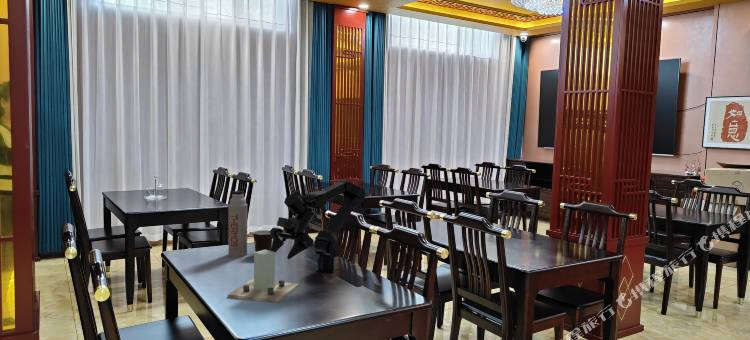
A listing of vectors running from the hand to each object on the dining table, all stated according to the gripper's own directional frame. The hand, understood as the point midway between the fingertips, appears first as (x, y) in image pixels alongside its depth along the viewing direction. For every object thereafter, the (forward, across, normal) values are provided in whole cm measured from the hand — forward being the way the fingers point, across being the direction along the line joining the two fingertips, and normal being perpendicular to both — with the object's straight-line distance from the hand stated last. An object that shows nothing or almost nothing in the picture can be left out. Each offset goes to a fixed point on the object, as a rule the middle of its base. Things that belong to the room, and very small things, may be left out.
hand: (279, 256), depth 190 cm
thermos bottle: (-4, -46, +18) cm, 50 cm away
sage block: (+13, +2, +1) cm, 13 cm away
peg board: (+13, +1, +1) cm, 13 cm away
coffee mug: (-10, -39, +25) cm, 47 cm away
